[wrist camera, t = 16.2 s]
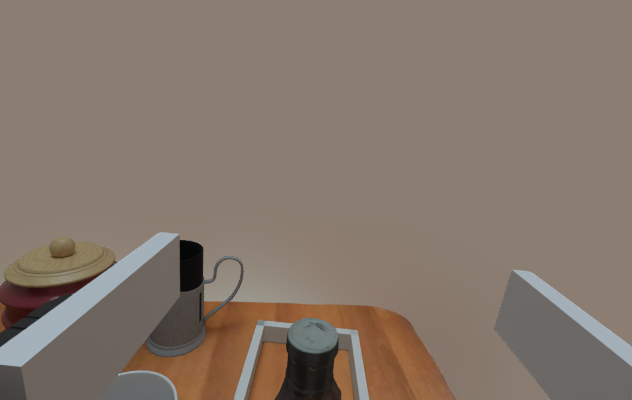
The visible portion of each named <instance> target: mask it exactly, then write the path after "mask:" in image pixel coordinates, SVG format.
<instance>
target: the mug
mask: <svg viewBox="0 0 632 400" xmlns="http://www.w3.org/2000/svg"><path fill="white" fill-rule="evenodd" d="M99 400H178V395H177V391H176V388H175V386H174V384H173V383H172V382H171V381H170V380H169V379H168V378H167V377H165V376H164V375H162V374H159V373H156V372H152V371H130V372H125V373H120V374H119V375H118V376H117V378H116V379H115V380H114V381H113V383H112V384H111V385H110V386H109V388H108V389H107V390H106V392H105V393H104V394H103V395H102V397H101V398H100V399H99Z"/></svg>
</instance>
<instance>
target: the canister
mask: <svg viewBox="0 0 632 400" xmlns="http://www.w3.org/2000/svg"><path fill="white" fill-rule="evenodd" d="M116 263H118V262H116V261H115V254H114V252H113V251H111V250H110V249H108V248H105V247H102V246H99V245H97V244H94V243H89V242H74V241H73V240H72V239H70V238H67V237H60V238H57V239H54V240H53V241H52V242H51V244H50V245H48V246H44V247H41V248H38V249H35V250H33V251H31V252H29V253H27V254H25V255H24V256H23V257H22V258H20V259H18V260H17V261H15V262H13V263H12V264H11V265H9V266H8V267H7V268H6V270H5V272H4V277H5V279H6V281H5V282H4V283H3V284H2V285H1V286H0V302H1V303H2V304H4V305H5V306H6V308H5V310H4V311H3V314H2V323H3V325H4V326H5V330H6V329H10V326H12V325H13V324H15V323H16V322H17V321H19V320H20V319H22V318H24V319H25V317H26V315H28V314H29V313H31V312H32V311H34V310H35V309H37V308H38V307H40V306H41V305H43V304H44V303H46V302H49V301H51V300H53V299H56V298H58V297H60V296H63V295H65V294H75V293H76V292H77V291H79V290H80V289H82V288H83V287H84V286H86V285H87V284H89V283H90V282H91V281H93V280H94V279H95V278H97V277H98V276H100V275H101V274H102V273H104V272H105V271H107V270H108V269H109V268H111V267H112V266H113V265H115V264H116Z"/></svg>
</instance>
